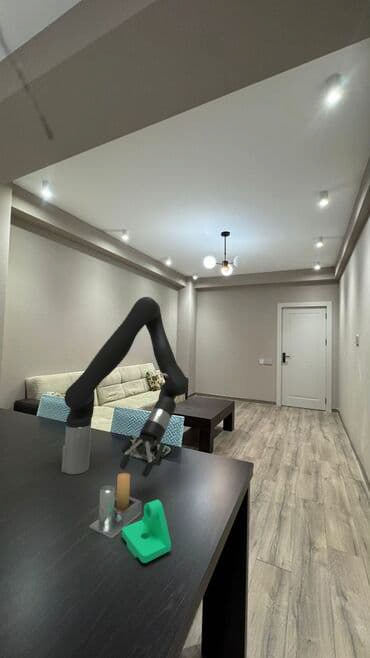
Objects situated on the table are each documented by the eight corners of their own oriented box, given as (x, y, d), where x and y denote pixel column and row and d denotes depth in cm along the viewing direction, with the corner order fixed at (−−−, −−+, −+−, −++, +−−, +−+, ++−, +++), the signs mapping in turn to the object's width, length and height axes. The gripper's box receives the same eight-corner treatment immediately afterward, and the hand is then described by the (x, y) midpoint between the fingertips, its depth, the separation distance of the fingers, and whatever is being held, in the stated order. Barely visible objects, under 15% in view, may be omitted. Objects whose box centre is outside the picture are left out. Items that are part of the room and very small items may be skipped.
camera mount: (120, 538, 75) (122, 498, 75) (145, 527, 80) (147, 490, 80) (143, 569, 66) (145, 523, 66) (170, 554, 70) (172, 512, 71)
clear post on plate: (120, 504, 89) (122, 470, 90) (141, 513, 86) (143, 477, 86) (89, 527, 79) (91, 488, 79) (111, 538, 75) (113, 497, 75)
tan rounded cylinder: (114, 517, 82) (116, 478, 82) (117, 509, 86) (118, 472, 86) (127, 517, 82) (128, 479, 83) (129, 510, 86) (131, 473, 86)
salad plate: (116, 455, 126) (117, 444, 127) (141, 443, 142) (141, 433, 142) (153, 466, 117) (153, 455, 117) (175, 451, 133) (175, 441, 133)
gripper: (135, 415, 100) (109, 460, 89) (169, 423, 93) (146, 473, 82) (143, 427, 104) (120, 471, 94) (177, 435, 97) (156, 484, 87)
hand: (132, 472), depth 88 cm, fingers open, 8 cm apart
